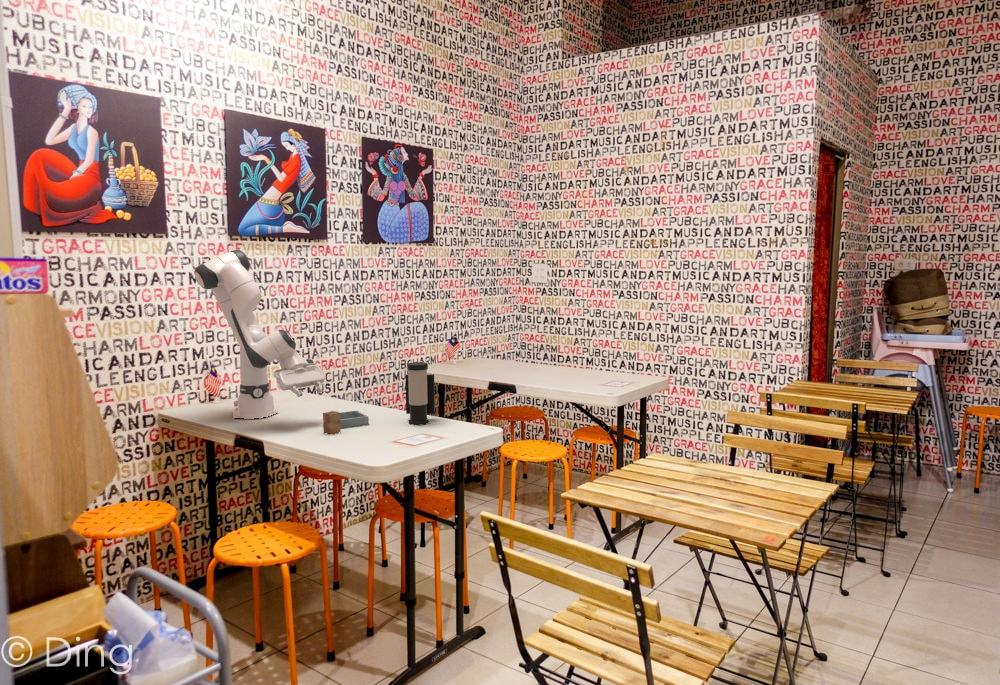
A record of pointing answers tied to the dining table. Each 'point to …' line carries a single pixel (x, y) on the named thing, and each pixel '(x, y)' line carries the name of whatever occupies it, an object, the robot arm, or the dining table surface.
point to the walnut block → (331, 422)
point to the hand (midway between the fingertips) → (310, 393)
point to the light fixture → (419, 393)
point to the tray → (353, 419)
